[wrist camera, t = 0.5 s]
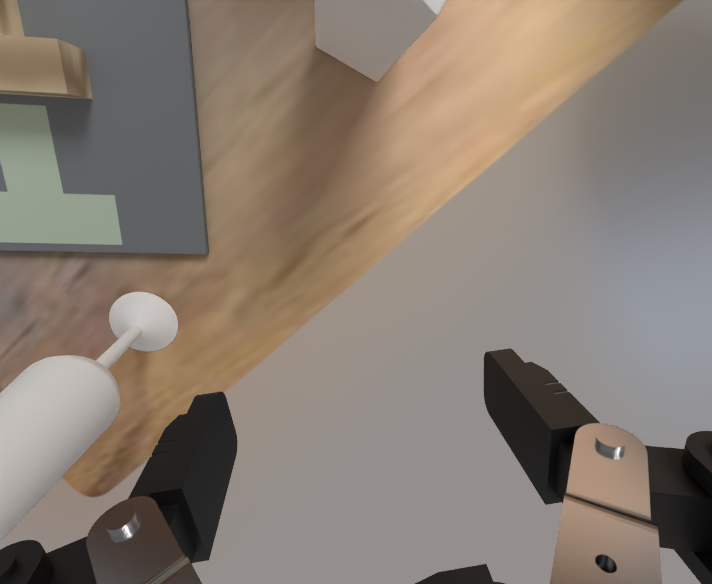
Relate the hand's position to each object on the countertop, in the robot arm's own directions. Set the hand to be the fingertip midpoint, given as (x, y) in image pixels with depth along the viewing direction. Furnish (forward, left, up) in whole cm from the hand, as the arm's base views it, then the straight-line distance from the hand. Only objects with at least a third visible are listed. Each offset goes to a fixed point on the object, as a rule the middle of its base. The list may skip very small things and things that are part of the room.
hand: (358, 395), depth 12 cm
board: (-9, -26, -28) cm, 39 cm away
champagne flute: (+10, -19, -29) cm, 36 cm away
